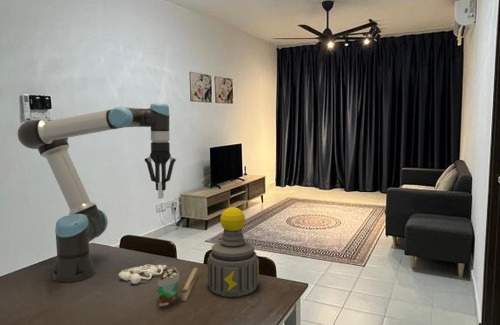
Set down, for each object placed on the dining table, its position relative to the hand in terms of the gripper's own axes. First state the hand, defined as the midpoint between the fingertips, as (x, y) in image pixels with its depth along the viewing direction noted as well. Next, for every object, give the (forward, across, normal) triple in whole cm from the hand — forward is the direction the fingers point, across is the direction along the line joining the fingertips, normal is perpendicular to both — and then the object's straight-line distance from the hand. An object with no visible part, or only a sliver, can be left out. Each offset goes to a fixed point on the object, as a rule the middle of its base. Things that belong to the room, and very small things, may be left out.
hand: (160, 197), depth 162 cm
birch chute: (+29, -12, +22) cm, 38 cm away
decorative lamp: (+29, -32, +21) cm, 48 cm away
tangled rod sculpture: (+30, +5, +11) cm, 32 cm away
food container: (+29, -12, +33) cm, 46 cm away
